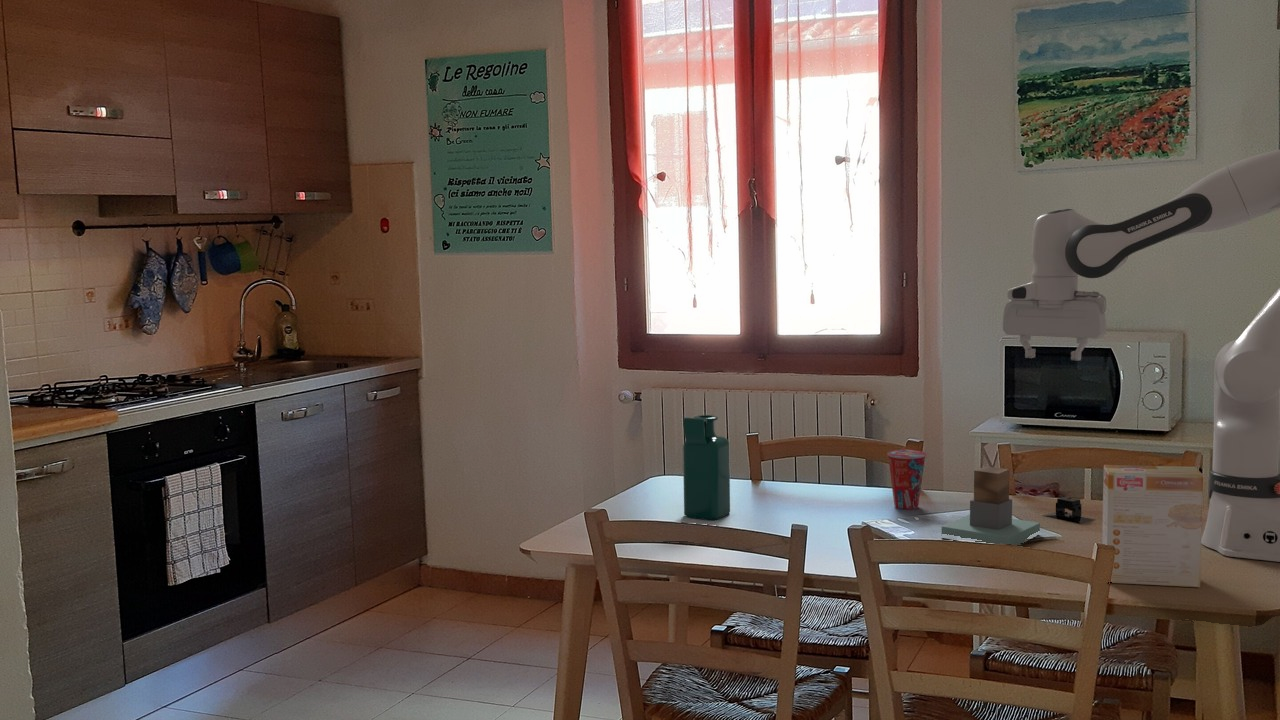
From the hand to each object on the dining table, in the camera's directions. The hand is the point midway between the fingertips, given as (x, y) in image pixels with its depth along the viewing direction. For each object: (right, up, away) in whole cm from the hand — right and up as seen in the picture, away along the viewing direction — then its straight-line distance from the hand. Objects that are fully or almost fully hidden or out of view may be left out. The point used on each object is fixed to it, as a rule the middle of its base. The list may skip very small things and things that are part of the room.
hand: (1052, 359), depth 235 cm
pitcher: (-69, -34, +17) cm, 79 cm away
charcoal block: (-14, -33, -6) cm, 36 cm away
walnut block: (-14, -28, -6) cm, 32 cm away
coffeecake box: (+4, -38, -35) cm, 52 cm away
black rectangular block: (+6, -34, +9) cm, 36 cm away
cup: (-25, -33, +21) cm, 46 cm away
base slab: (-14, -35, -6) cm, 38 cm away
